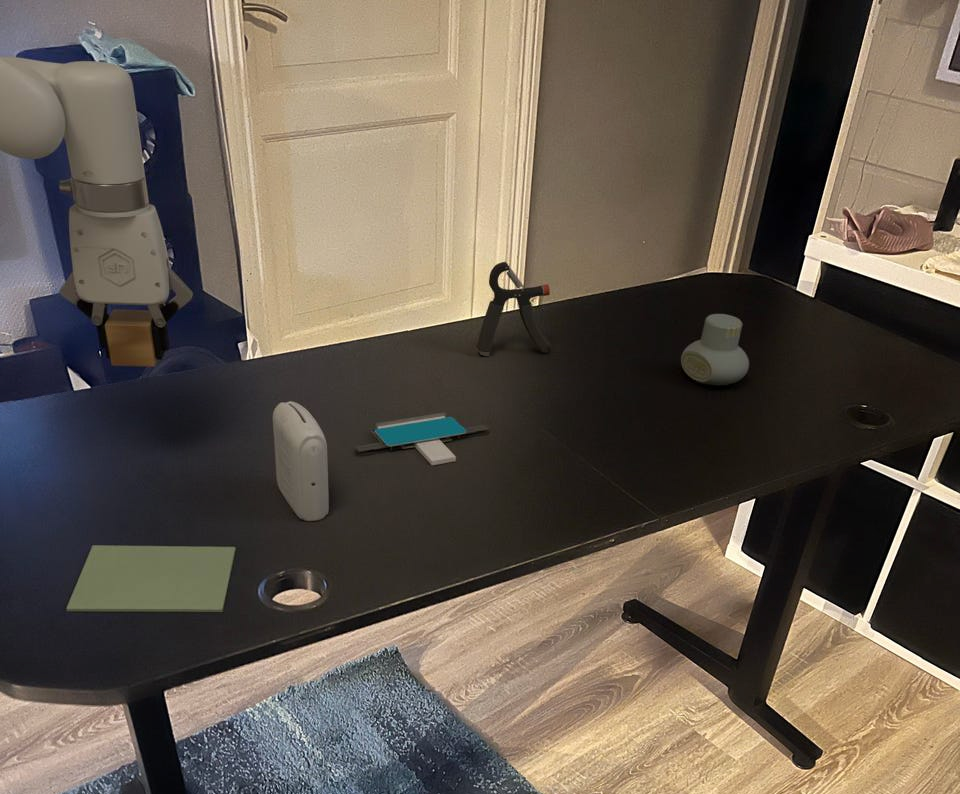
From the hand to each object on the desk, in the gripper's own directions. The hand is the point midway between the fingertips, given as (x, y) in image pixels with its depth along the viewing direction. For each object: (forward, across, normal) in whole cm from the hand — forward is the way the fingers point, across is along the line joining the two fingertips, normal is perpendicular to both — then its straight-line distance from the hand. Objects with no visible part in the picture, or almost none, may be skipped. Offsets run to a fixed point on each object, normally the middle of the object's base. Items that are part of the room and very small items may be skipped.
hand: (136, 353), depth 117 cm
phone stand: (+15, +36, +7) cm, 40 cm away
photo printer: (+15, +20, -9) cm, 26 cm away
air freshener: (+15, +84, +31) cm, 91 cm away
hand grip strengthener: (+15, +53, +39) cm, 67 cm away
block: (+1, 0, 0) cm, 1 cm away
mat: (+15, +4, -26) cm, 30 cm away
